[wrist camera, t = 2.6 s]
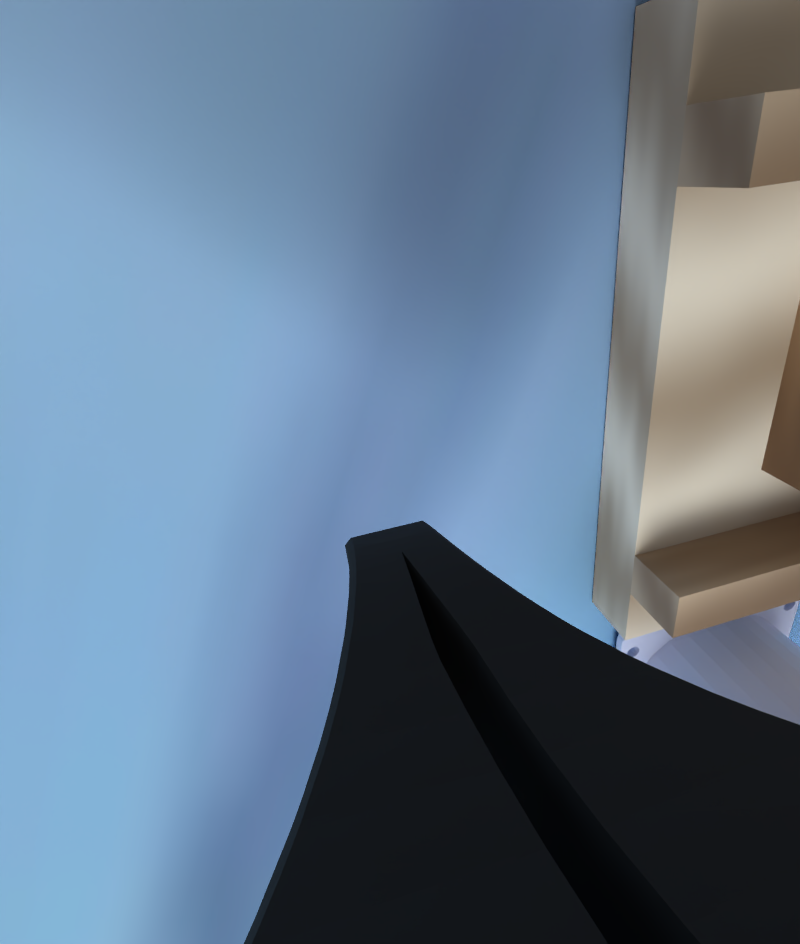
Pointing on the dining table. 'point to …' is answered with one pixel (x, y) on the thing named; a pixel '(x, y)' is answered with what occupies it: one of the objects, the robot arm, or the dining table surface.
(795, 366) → the walnut block
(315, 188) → the dining table surface
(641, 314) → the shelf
